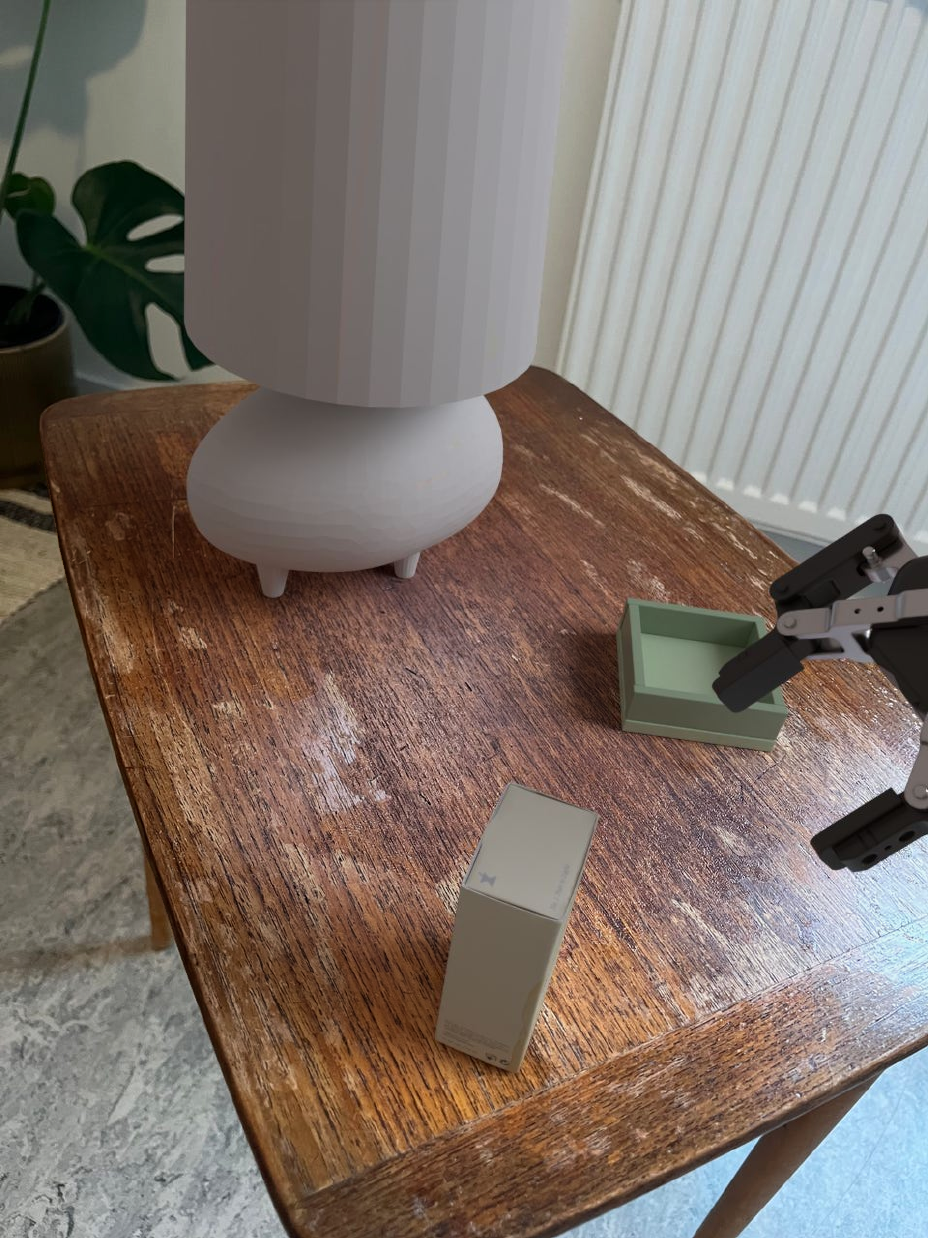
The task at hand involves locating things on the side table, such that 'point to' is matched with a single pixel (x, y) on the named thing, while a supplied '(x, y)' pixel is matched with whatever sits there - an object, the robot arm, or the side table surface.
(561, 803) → the cosmetic box
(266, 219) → the table lamp
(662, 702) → the green open storage bin
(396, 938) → the side table surface
